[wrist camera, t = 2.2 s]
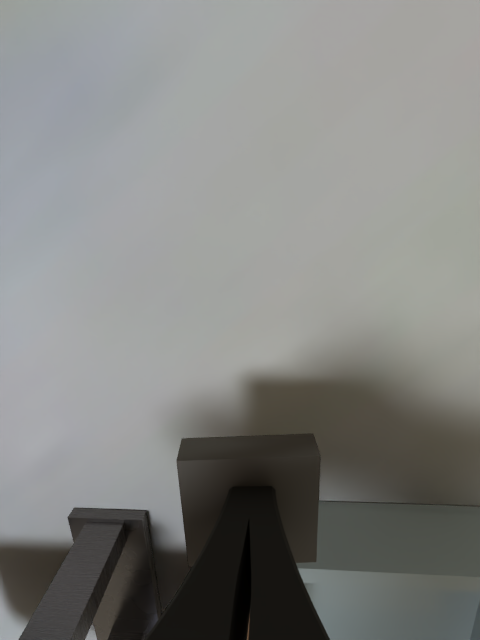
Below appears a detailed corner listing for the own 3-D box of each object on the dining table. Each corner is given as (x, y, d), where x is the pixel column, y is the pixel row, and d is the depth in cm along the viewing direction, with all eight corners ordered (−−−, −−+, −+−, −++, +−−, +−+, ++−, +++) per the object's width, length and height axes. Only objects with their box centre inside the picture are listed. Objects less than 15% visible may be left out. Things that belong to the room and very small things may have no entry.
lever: (300, 394, 13) (336, 504, 8) (295, 684, 18) (316, 854, 13) (-216, 414, 13) (-474, 534, 8) (-75, 696, 18) (-184, 870, 14)
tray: (470, 669, 21) (508, 759, 17) (263, 655, 22) (262, 737, 18) (511, 507, 17) (569, 581, 14) (258, 499, 18) (256, 566, 15)
